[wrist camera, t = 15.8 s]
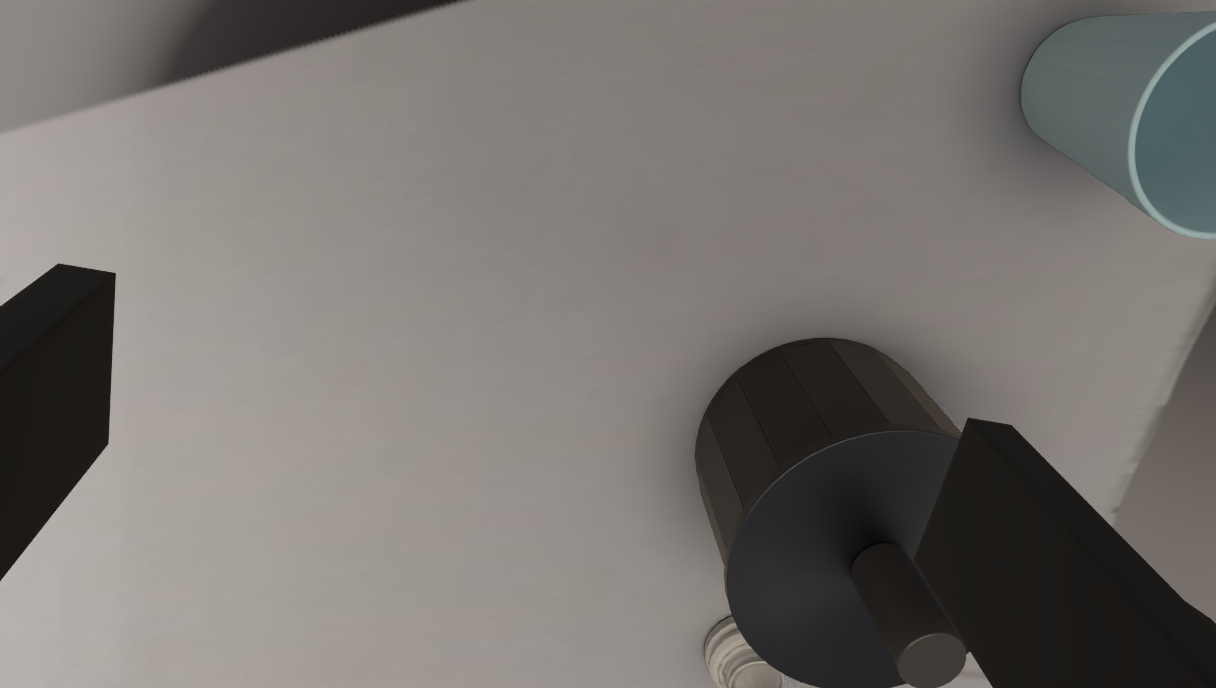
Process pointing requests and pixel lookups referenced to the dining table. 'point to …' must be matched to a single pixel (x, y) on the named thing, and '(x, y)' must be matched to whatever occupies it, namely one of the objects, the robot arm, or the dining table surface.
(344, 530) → the dining table surface
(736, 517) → the pot
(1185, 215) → the cup
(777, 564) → the pot lid
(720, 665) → the chess piece
